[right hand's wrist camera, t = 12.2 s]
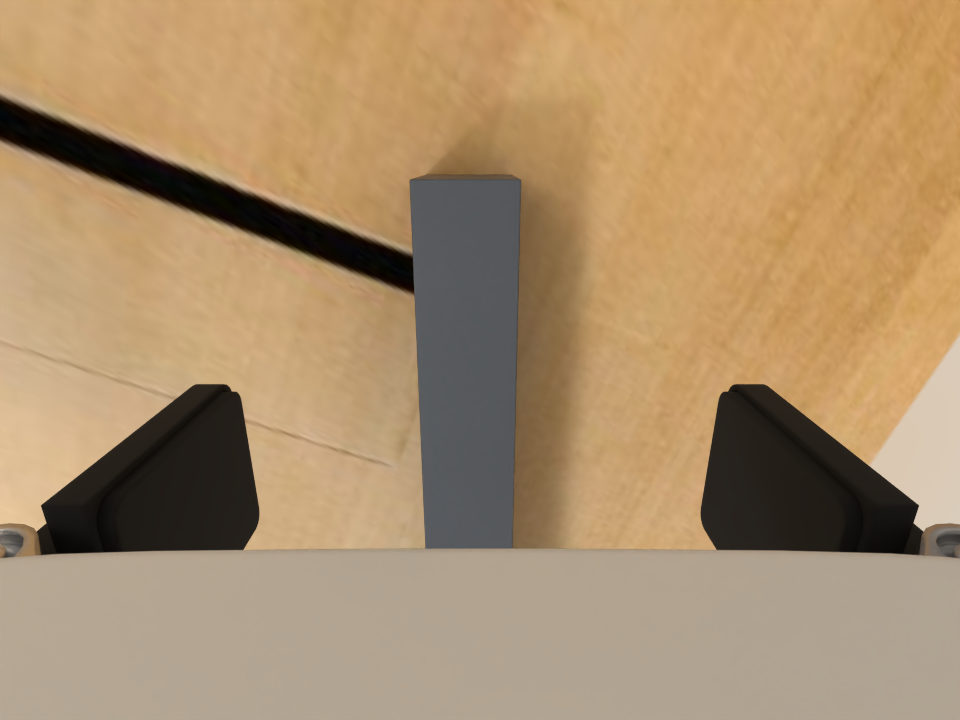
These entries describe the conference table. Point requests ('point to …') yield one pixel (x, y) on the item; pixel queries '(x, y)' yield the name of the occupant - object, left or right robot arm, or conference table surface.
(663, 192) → the conference table surface
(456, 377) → the beam
